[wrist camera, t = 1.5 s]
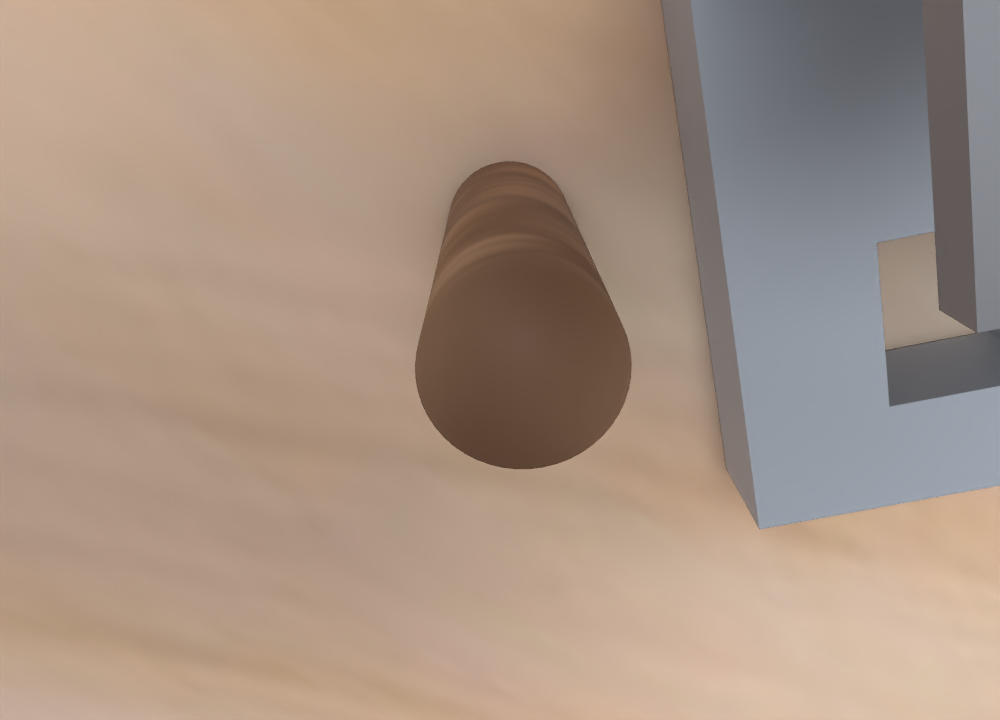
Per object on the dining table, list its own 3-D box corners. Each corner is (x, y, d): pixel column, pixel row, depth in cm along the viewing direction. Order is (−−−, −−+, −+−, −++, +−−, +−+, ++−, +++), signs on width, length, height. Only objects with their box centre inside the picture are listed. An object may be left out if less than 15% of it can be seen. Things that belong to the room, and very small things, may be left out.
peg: (463, 290, 33) (441, 486, 18) (437, 175, 31) (392, 288, 17) (578, 267, 32) (646, 447, 18) (556, 150, 31) (612, 244, 17)
